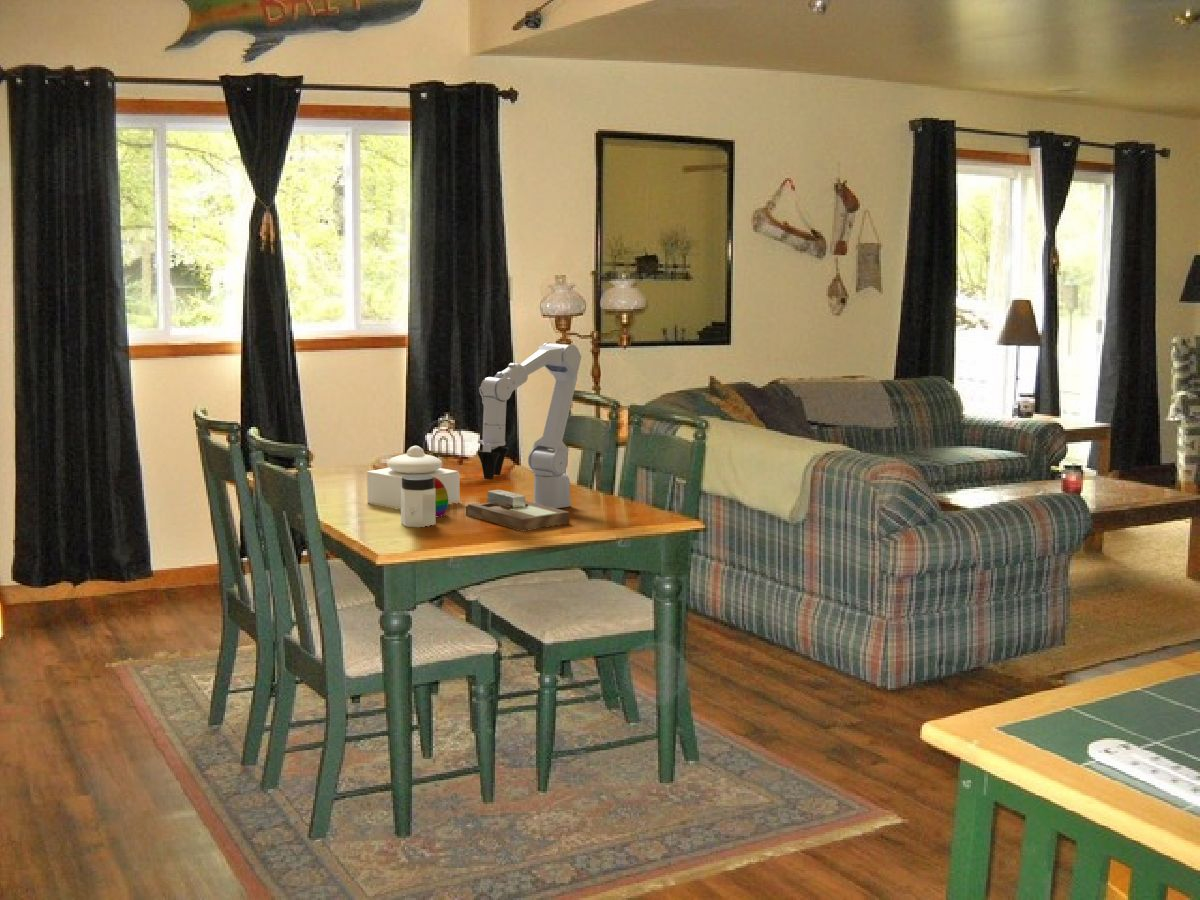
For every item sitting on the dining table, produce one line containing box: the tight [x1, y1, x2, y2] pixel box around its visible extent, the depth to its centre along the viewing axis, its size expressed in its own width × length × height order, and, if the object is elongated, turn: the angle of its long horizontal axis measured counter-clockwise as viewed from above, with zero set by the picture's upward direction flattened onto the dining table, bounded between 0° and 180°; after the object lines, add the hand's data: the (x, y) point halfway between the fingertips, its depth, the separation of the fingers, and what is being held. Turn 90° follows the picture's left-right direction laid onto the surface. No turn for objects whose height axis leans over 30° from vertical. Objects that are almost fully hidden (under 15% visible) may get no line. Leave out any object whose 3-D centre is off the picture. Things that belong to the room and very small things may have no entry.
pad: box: [510, 506, 557, 517], centre depth 336 cm, size 7×10×1 cm
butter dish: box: [365, 444, 461, 510], centre depth 359 cm, size 18×18×16 cm
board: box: [465, 500, 570, 532], centre depth 341 cm, size 15×24×4 cm, turn 41°
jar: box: [400, 474, 437, 528], centre depth 333 cm, size 9×8×12 cm
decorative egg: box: [434, 477, 449, 517], centre depth 344 cm, size 8×8×10 cm
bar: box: [486, 489, 526, 509], centre depth 344 cm, size 4×11×3 cm, turn 41°
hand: (492, 476), depth 341 cm, fingers open, 7 cm apart
